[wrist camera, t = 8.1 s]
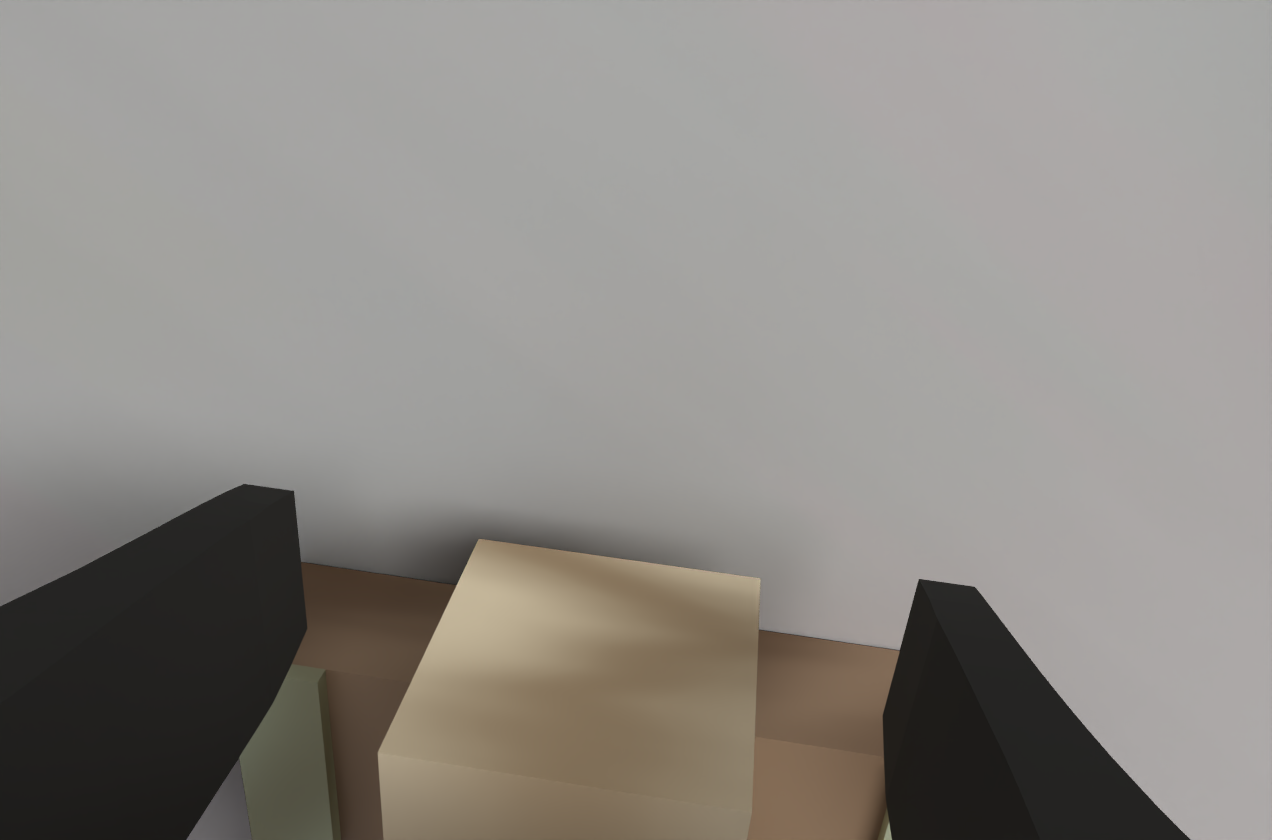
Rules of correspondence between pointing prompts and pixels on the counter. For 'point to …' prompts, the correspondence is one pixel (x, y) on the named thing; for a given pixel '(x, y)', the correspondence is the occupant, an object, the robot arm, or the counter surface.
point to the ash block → (578, 704)
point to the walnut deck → (394, 646)
